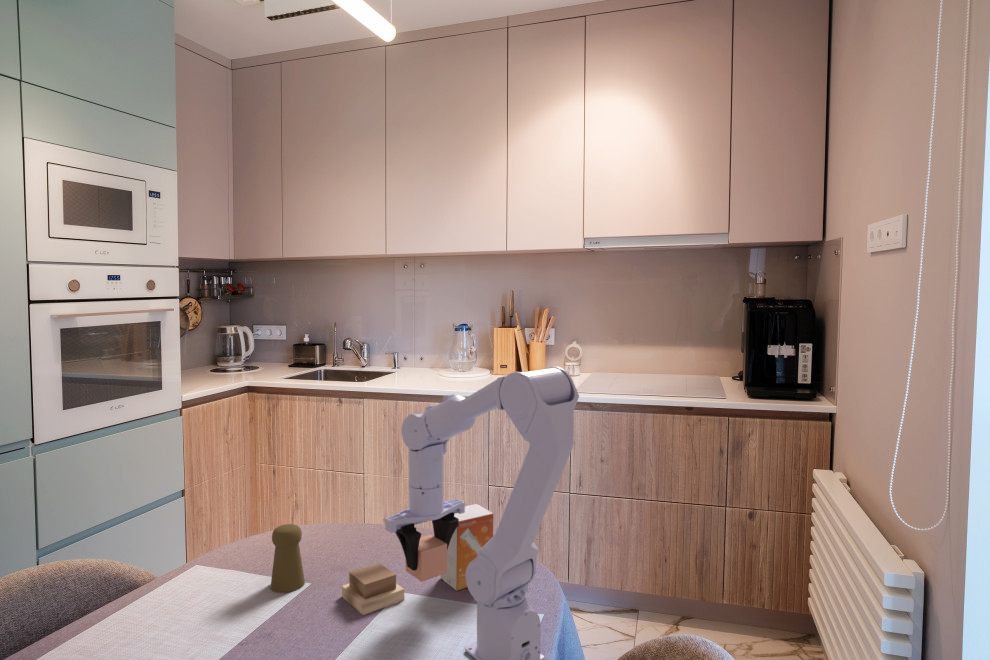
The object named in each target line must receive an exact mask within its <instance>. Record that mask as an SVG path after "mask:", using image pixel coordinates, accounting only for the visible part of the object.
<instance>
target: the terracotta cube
mask: <svg viewBox="0 0 990 660" xmlns="http://www.w3.org/2000/svg"><path fill="white" fill-rule="evenodd" d="M405 572H406V573H408V574H410V575H411V576H412V577H413V578H415V579H417V580H418V581H419V582H421V583H423V582H425V581H428V580H431V579H433V578H434V579H435V578H437V577H439V576H440V577H441V575H443V574H446V573H447V544H446V543H445V542H443V541H441V540H439V539H438V538H436V537H434V535H433V534H428V535H424V536H421V537H420V541H419V547H418V566H417V570H414V571H413V570H411V569H410V568H408V567H407V563H406V562H405Z"/></svg>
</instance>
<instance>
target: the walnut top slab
mask: <svg viewBox="0 0 990 660" xmlns="http://www.w3.org/2000/svg"><path fill="white" fill-rule="evenodd" d="M396 583H397V574H396V573H395V572H393V571H392V570H390V569H389V568H388V567H386V566H385V565H383V564H381V563H380V562H378V563H376V564H371V565H368V566H365V567H362V568H359V569H355V570H352V571H348V584H349V586H350V587H351V588H352V589H354V590H355V591H356V592H357V593H358V594H360V595H361V596H362V597H363V598H364V599H367V598H369V597H372V596H375V595H378V594H381V593H384V592H387V591H390V590H393V589H396Z"/></svg>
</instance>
